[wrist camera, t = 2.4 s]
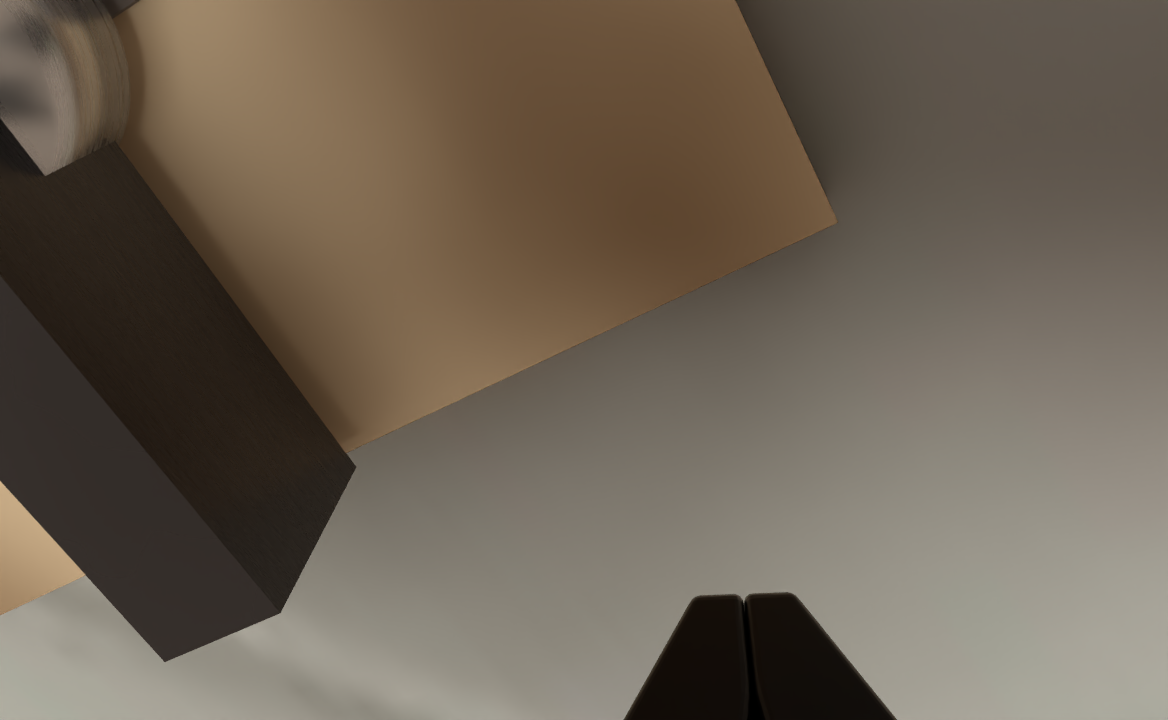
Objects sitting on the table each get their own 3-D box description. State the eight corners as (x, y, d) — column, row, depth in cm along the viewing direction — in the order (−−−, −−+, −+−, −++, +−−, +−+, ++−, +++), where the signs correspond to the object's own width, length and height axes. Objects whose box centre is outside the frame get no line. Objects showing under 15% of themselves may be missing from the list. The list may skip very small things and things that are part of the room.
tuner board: (218, -1118, 9) (146, -1270, 8) (828, 199, 14) (842, 232, 13) (-734, -118, 14) (-873, -116, 13) (-25, 606, 19) (-75, 659, 18)
